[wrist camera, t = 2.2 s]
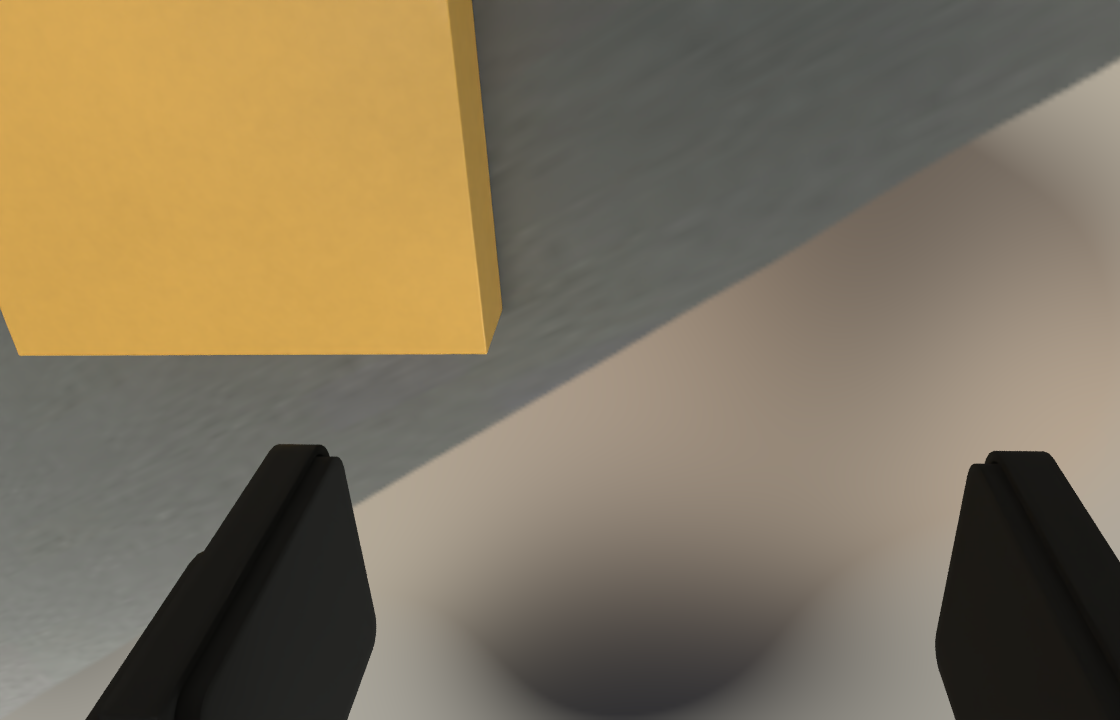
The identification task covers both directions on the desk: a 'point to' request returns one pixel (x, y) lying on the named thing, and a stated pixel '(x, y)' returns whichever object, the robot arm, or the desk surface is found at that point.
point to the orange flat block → (244, 178)
